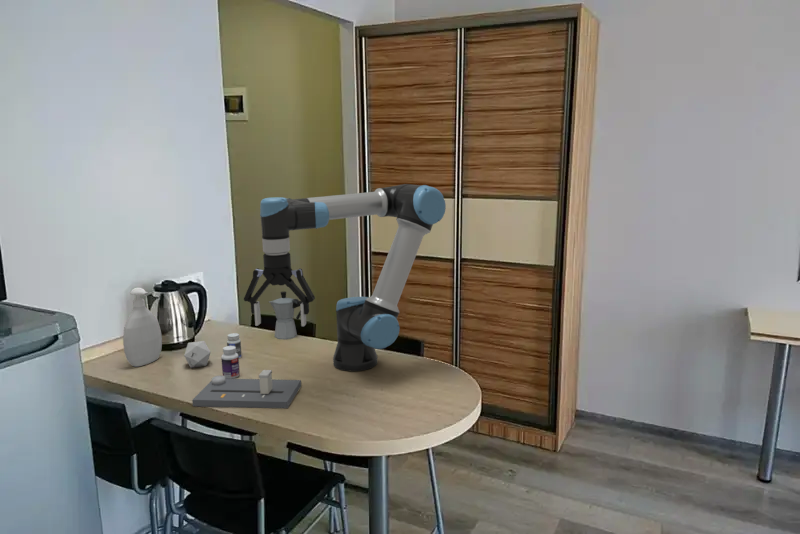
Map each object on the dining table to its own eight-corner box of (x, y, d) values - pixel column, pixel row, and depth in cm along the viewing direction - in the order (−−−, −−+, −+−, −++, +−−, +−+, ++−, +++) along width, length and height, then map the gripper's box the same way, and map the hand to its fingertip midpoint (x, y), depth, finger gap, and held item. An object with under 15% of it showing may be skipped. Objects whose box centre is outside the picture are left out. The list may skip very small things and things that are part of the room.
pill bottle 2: (235, 379, 191) (232, 351, 189) (219, 378, 192) (217, 350, 190) (242, 373, 197) (240, 345, 195) (227, 372, 198) (225, 344, 196)
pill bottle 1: (229, 360, 208) (227, 337, 207) (226, 356, 212) (225, 334, 211) (243, 358, 210) (241, 335, 209) (240, 354, 215) (238, 331, 213)
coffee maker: (266, 339, 231) (263, 294, 227) (274, 332, 239) (272, 288, 236) (303, 340, 228) (300, 295, 225) (310, 333, 237) (308, 289, 233)
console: (301, 386, 186) (300, 375, 185) (287, 408, 170) (286, 396, 169) (214, 384, 188) (213, 373, 187) (192, 406, 172) (191, 394, 172)
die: (179, 367, 205) (177, 351, 197) (194, 347, 211) (192, 331, 203) (202, 376, 204) (200, 360, 197) (215, 357, 210) (215, 340, 203)
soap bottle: (136, 372, 199) (127, 294, 193) (120, 368, 203) (111, 291, 197) (171, 358, 211) (164, 284, 206) (156, 354, 215) (149, 282, 210)
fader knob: (272, 388, 178) (271, 370, 177) (268, 394, 174) (267, 375, 173) (264, 388, 179) (263, 369, 177) (260, 393, 175) (258, 375, 173)
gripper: (322, 250, 170) (326, 321, 175) (238, 250, 173) (243, 320, 177) (316, 255, 163) (320, 329, 168) (229, 255, 165) (234, 327, 170)
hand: (280, 324), depth 172 cm, fingers open, 13 cm apart
